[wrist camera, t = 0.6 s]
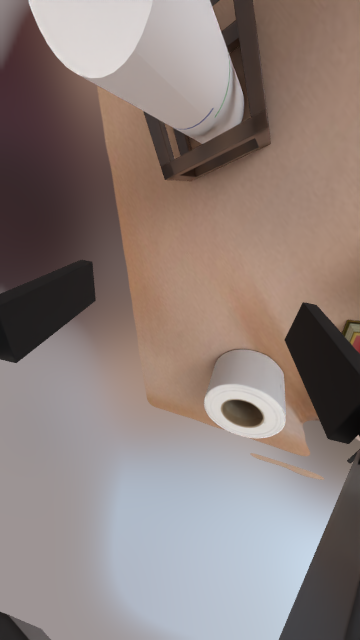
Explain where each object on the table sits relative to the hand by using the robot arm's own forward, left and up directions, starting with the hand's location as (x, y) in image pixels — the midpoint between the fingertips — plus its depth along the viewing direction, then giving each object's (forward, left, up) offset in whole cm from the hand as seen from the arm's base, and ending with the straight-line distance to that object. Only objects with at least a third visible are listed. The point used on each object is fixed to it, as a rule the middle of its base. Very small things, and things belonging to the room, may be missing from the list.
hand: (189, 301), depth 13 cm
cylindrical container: (0, -15, -27) cm, 31 cm away
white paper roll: (+5, +32, -27) cm, 42 cm away
